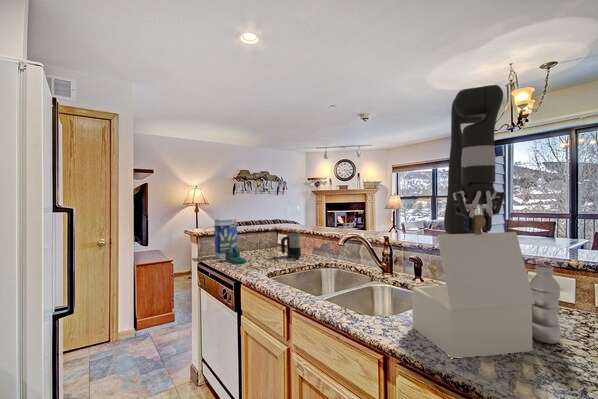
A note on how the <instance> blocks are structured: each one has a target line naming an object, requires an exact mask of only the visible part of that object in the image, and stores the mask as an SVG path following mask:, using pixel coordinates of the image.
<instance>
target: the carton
mask: <svg viewBox="0 0 598 399" xmlns="http://www.w3.org/2000/svg"><path fill="white" fill-rule="evenodd" d="M411 292H412V294H411V297H412V298H411V299H412V302H411V304H412V328H413V329H414V330H416V331H417V332H418V333H419V334H420V335H422V336H423V337H424V338H425V337H426V340H427V341H429V342H430V343H431V342H432V343H431V344H433V346H435V345H436V346H437V347H438V348H437V347H436V346H435V347H436V348H437V349H439V348H440V349H441V350H442V351H444V352H445V353H446V354H447V355H449V356H450V357H451V358H457V357H471V358H476V357H475V356H481V357H490V355H491V356H499V355H500V354H501V355H509V354H508V353H511V354H519V352H521V353H530V352H533V337H532V304H524V305H511V306H498V307H485V308H472V309H458V310H451V309H450V304H449V298H448V293H447V288H446V284H443V285H442V284H441V285H429V286H428V285H427V286H412V288H411ZM440 349H439V350H440ZM441 350H440V351H441ZM442 351H441V352H442ZM529 351H530V352H529ZM517 352H518V353H517ZM445 353H444V354H445ZM446 354H445V355H446ZM447 355H446V356H447ZM451 358H450V359H451Z"/></svg>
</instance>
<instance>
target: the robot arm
mask: <svg viewBox="0 0 598 399" xmlns="http://www.w3.org/2000/svg"><path fill="white" fill-rule="evenodd" d="M503 99H504V92H503V89H502V88H501V86H500V85H498V84H487V85H485V84H484V85H480V86H473V87H468V88H463V89H461V90H459V91H458V92H457V94H456V95H455V98H454V99H453V101H452V104H451V110H450V111H451V112H450V113H451V114H450V117H451V119H450V127H451V129H450V131H451V132H450V133H451V134H450V149H449V150H450V151H449V159H448V160H449V161H448V170H447V172H448V175H447V180H448V181H447V196H446V203H445V210H444V217H443V227H444V230H445V232H446V234H474V218H472V217H473V216H474V214H476V212H475V211H476V210H477V209H478V208H479V209H480V212H481V215H482V216H483V217H484V218H485V220H486V224H485V226H484V227H483V228H481V232H490V231H491V229H492V227H493V226H492V225H493V224H492V223H493V221H492V220H493V216H495V215H499V214H500V212H501V209H502V205H503V201H504V198H505V192H504V191H498V190H496V189H495V187H494V183H495V182H496V151H495V130H496V129H495V128H496V123H497V119H498V114H499V111H500V109H501V106H502V103H503ZM462 124H463V125H464V124H467V125H465V127H464V128H463V129H462V127H461V126H462Z"/></svg>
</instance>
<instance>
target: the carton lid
mask: <svg viewBox="0 0 598 399" xmlns="http://www.w3.org/2000/svg"><path fill="white" fill-rule="evenodd" d="M472 218H474V234H448V233H446V234H436V238H437V244H438V248H439V254H440V259H441V264H442V271H443V277H444V281H445V285H446V288H447V293H448V298H449V304H450V309H451V310H458V309H472V308H485V307H498V306H511V305H524V304H535V302H534V298H533V295H532V291H531V287H530V283H529V279H528V275H527V274H528V272H527V269H526V264H525V260H524V256H523V253H522V250H521V245H520V240H519V239H518V234H517V231H507V232H503V231H502V232H483V231H482V228H483V227H484V226H485V224H486V220H485V218H484V217H483V215H482V214H480V213H475V214H474V216H473V217H472Z"/></svg>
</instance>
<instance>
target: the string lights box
mask: <svg viewBox="0 0 598 399" xmlns="http://www.w3.org/2000/svg"><path fill="white" fill-rule="evenodd" d="M237 221H238V219H237V218H235V217H233V218H214V258H217V259H225V252H226V249H229V248H231V249H233V248H238V226H237V225H238V224H237V223H238V222H237Z"/></svg>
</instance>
